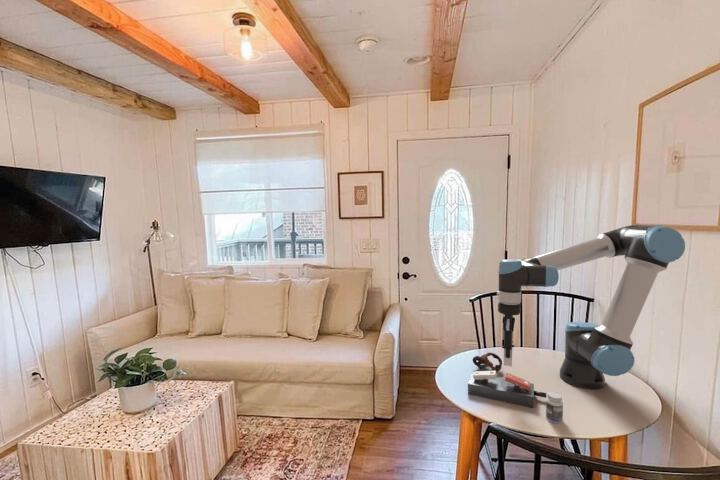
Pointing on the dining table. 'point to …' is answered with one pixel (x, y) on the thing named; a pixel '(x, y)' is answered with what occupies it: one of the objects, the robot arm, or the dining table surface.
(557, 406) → the pill bottle
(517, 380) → the rocker
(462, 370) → the dining table surface
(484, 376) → the rocker
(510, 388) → the rocker switch panel
